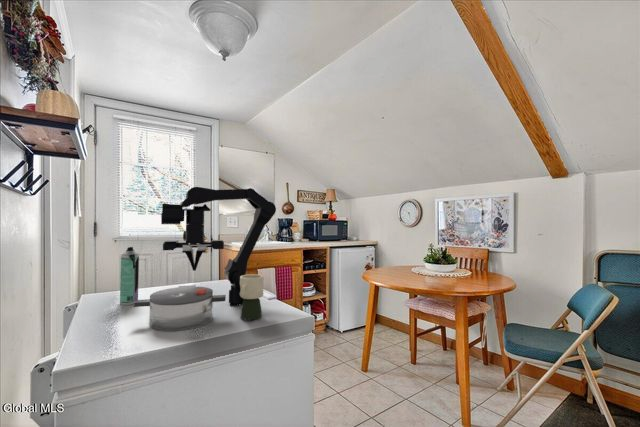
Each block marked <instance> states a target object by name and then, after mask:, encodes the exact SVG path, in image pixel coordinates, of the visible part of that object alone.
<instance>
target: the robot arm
mask: <svg viewBox="0 0 640 427" xmlns="http://www.w3.org/2000/svg"><path fill="white" fill-rule="evenodd" d="M229 200H230V201H231V200H233V201H234V200H247V202H248V203H249V204H250V205H251V206H252V207H253V209H255V211H254V213H253V221H252V224H251V226H250V228H249V230H248V231H247V234H246V236H245V238H244V240H243V241H242V245H241V247H240V248H239V251H238V253H237V255H236V256H235V257H234V258H233V259H231V258H229V259H228V261H227V264H226V266H224V268H223V270H224V277H225V279H226V280H227V281H228V282H229V283H230V289H229V290H228V303H229V305H230V306H231V307H232V306H242V304H243V301H244V298H242V297H241V296H240V291H241V288H240V276H242V275H246V272H247V268H248V261H249V259H250V257H251V254H252V253H253V250H254V248H255V246H256V245H257V242H258V240H259V238H260V236H261V234H262V232H263V230H264V228H265V226H266V225H267V224H268V223H269V222H270V221H271V220H272V219H273V216H274V215H275V214H276V212H277V207H276V204H275V203H273V202H272V201H269V200H267V198H265V197H263V196H262V194H260V193H258V192H257V191H256V190H255V189H254V188H251V187H249V188H236V189H235V188H233V189H232V188H231V189H213V188H208V187H200V186H194V187H191V188H189V190H187V191H186V193H185V199H184V200H183V201H181V202H180V204H178V203H174V204H172V203H162V204H161V206H162V207H161V215H160V216H161V219H160V221H161V225H181V222H185V230H184V231H183V233H182V234H183V236H182V239H183V241H184V242H183V241H182V242H180V241H179V240H166V241H164V242H163V244H162V251H174V250H176V249H182V250H181V251H182V253H185V255H186V257H187V258H188V260H189V263H190V266H191V268H192V271H193V272H194V271H195V272H196V271H197V268H198V265H199V262H200V259H201V257H202V256H203V255H202V254H203V253H206V252H207V250H208V248H212V249H213V250H224V248H225V242H224V240H223V239H212V240H211V241H205V240H206V239H205V238H206V237H205V212H211V208H210V207H208V206H207V204H206V203H209V202H210V203H211V202H214V201H229ZM201 204H203V205H202V206H199V205H201ZM192 205H193V206H192ZM195 205H196V206H195ZM197 205H198V206H197ZM190 206H192V208H188V207H190ZM185 213H186V214H185ZM193 248H194V249H195V248H197V249H196V251H195V252H196V253H195V255H194V249H193Z"/></svg>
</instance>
